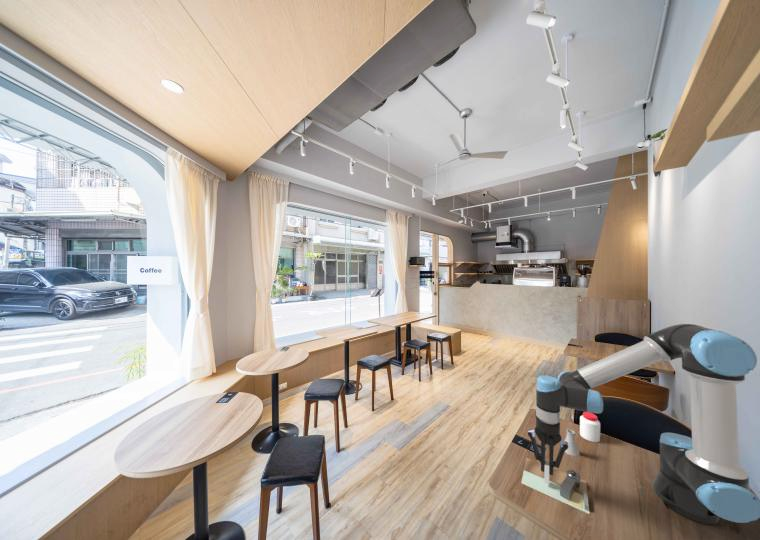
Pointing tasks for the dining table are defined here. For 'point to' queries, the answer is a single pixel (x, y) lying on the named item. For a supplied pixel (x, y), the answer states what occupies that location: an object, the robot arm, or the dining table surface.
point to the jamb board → (556, 477)
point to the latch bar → (570, 484)
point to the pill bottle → (590, 427)
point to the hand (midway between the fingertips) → (546, 480)
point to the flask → (571, 443)
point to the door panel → (555, 491)
